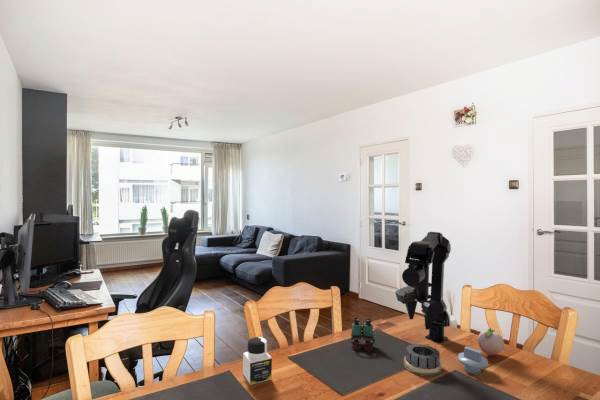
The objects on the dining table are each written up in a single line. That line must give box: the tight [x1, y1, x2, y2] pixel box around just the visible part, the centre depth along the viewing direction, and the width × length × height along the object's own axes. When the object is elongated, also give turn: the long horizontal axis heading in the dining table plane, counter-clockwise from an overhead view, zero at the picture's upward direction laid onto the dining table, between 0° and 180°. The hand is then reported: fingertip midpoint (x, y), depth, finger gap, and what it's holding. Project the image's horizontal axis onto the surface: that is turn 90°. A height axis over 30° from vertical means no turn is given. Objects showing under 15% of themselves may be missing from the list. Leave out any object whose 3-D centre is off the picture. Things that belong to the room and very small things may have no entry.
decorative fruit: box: [477, 327, 505, 356], centre depth 128 cm, size 9×8×10 cm
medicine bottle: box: [242, 336, 273, 386], centre depth 111 cm, size 7×7×12 cm
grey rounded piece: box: [457, 345, 489, 375], centre depth 117 cm, size 9×9×7 cm
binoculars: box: [350, 317, 376, 352], centre depth 132 cm, size 9×11×10 cm
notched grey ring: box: [403, 343, 442, 377], centre depth 118 cm, size 12×12×6 cm
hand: (418, 324), depth 121 cm, fingers open, 9 cm apart
